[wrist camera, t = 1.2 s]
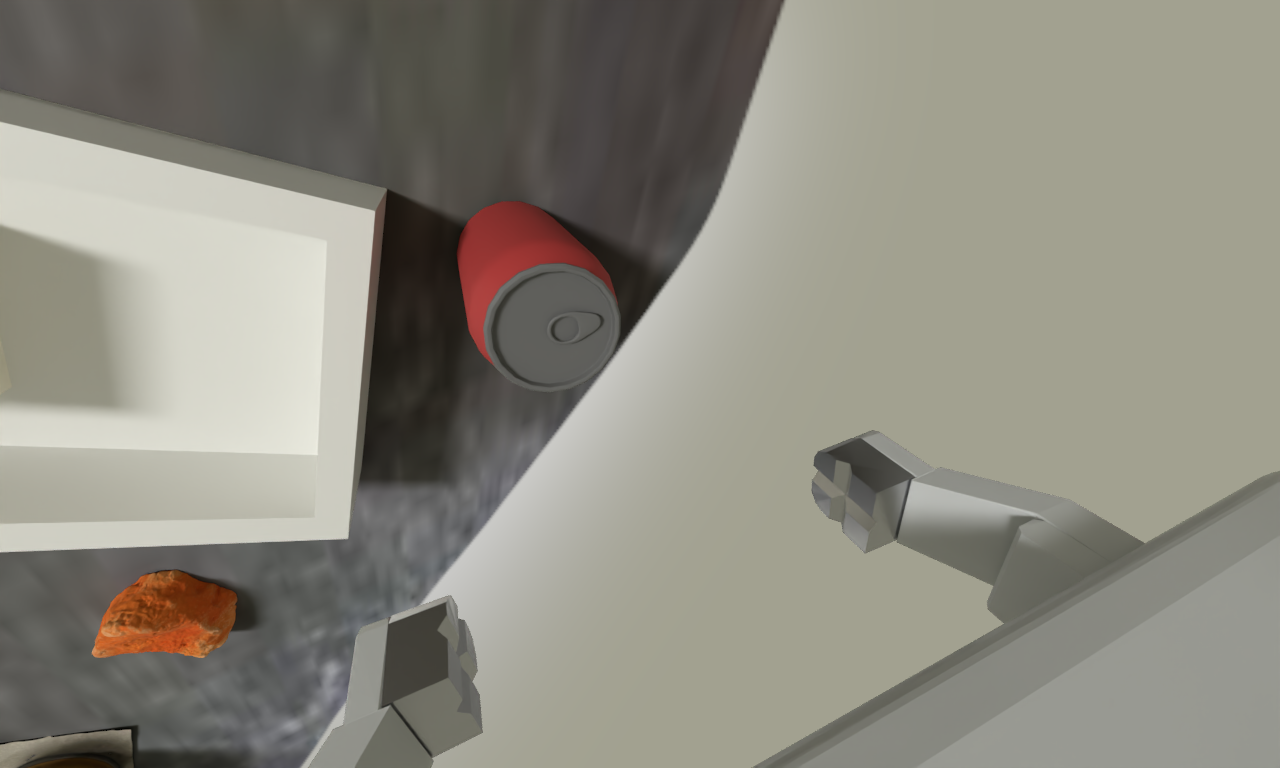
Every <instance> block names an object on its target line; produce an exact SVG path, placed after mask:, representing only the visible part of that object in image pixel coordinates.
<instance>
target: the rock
mask: <svg viewBox="0 0 1280 768" xmlns="http://www.w3.org/2000/svg"><path fill="white" fill-rule="evenodd" d="M236 602H237V594H236V593H235V592H233V591H231V590H229V589H226V588H223V587H219V586H218V585H216V584H214V583H206V582H202V581H199V580H197V579H195V578H192V577H191V576H189V575H188V574H187V573H183V572H180V571H179V570H172V571H170V570H169V571H160V572H157V573H152V574H146V575H143V576H141V577H140V578H139V580H138V581H137V582H136V583H134V584H132V585H131V586H129V587H127V588H126V589H125V590H124V591H123V592H122V593H120V594H119V595H117V596H116V597H115V599H114V600H113V601H112V602H111V604H110V606H109V608H108V610H107V611H106V613H105V615H104V616H103V619H102V622H101V626H100V629H99V633H98V636H97V638H96V640H95V646H94V648H93V651H92V654H93V656H95V657H98V658H104V657H109V656H114V655H118V654H124V653H139V652H141V653H142V652H146V651H147V652H149V651H151V652H160V651H166V652H169V653H175V652H176V653H181V654H184V655H185V656H187V655H188V656H189V655H191V656H194V657H199V658H204V657H206V656H207V655H208V654H209V652H210V651H213V650H214V649H215V648H219V647H220V646H222V645H223V644H224V643H225V642H226V640H227V638H228V634H229V632H230V631H231V629H232V627H233V624H234V622H235V615H236V612H235V610H236V607H237V606H236V605H235V603H236Z"/></svg>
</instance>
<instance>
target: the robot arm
mask: <svg viewBox="0 0 1280 768" xmlns="http://www.w3.org/2000/svg"><path fill="white" fill-rule="evenodd" d="M814 466H815V467H816V469H817V470H818V472H817V473H816V475H815V477H814V478H813V480H812V494H813V496H814V499H815V502H816V504H817V505H818V507H819V508H820V509H821V511H822V512H823V513H824V514H825V515H826V516H827V517H828V518H829V519H832V520H835V521H838V522H841V523H842V529H843V533H844V534H845V535H846V536H848V538H849V539H850V540H851V541H853V542H854V543H855V544H856V545H857V546H858V547H859V548H860V549H861V550H862V551H863V552H864V553H867V552H870V551H872V550H875V549H877V548H879V547H882V546H884V545H886V544H888V543H891V542H893V541H895V540H897V543H899V544H902V545H904V546H906V547H908V548H911V549H913V550H915V551H917V552H919V553H922V554H924V555H926V556H928V557H931V558H933V559H935V560H937V561H939V562H942V563H944V564H946V565H948V566H951V567H953V568H955V569H957V570H960V571H962V572H964V573H966V574H968V575H971V576H973V577H975V578H977V579H980V580H982V581H984V582H986V583H988V584H991V585H993V586H994V587H993V589H992V591H991V594H990V596H989V598H988V601H987V607H988V610H989V611H990V612H992V613H993V614H994V615H995V616H996V617H997V618H998V619H999V620H1001V621H1002V622H1003V623H1004V624H1003V625H1001V626H999V627H998V628H996V629H994V630H992V631H991V632H989V633H987V634H985V635H984V636H982V637H980V638H978V639H977V640H975V641H973V642H971V643H970V644H968V645H966V646H964V647H963V648H961V649H959V650H957V651H956V652H954V653H952V654H951V655H949V656H947V657H945V658H943V659H942V660H940V661H938V662H936V663H934V664H933V665H931V666H929V667H927V668H926V669H924V670H922V671H920V672H919V673H917V674H915V675H913V676H912V677H910V678H908V679H906V680H905V681H903V682H901V683H899V684H898V685H896V686H894V687H892V688H891V689H889V690H887V691H885V692H884V693H882V694H880V695H878V696H877V697H875V698H873V699H871V700H870V701H868V702H866V703H864V704H863V705H861V706H859V707H857V708H856V709H854V710H852V711H850V712H849V713H847V714H845V715H843V716H842V717H840V718H838V719H836V720H835V721H833V722H831V723H829V724H828V725H826V726H824V727H822V728H821V729H819V730H817V731H815V732H814V733H812V734H810V735H808V736H806V737H805V738H803V739H801V740H800V741H798V742H796V743H794V744H792V745H791V746H789V747H787V748H786V749H784V750H782V751H780V752H778V753H777V754H775V755H773V756H772V757H770V758H768V759H766V760H764V761H763V762H761V763H759V764H757V765H756V766H754V767H752V768H1280V471H1278V472H1273V473H1270V474H1268V475H1265V476H1263V477H1261V478H1259V479H1257V480H1255V481H1254V482H1252V483H1250V484H1248V485H1247V486H1245V487H1243V488H1242V489H1240V490H1238V491H1236V492H1234V493H1233V494H1231V495H1229V496H1227V497H1226V498H1224V499H1222V500H1220V501H1219V502H1217V503H1215V504H1213V505H1212V506H1210V507H1208V508H1206V509H1205V510H1203V511H1201V512H1199V513H1198V514H1196V515H1194V516H1193V517H1191V518H1189V519H1187V520H1185V521H1183V522H1182V523H1180V524H1178V525H1176V526H1175V527H1173V528H1171V529H1169V530H1168V531H1166V532H1164V533H1162V534H1161V535H1159V536H1157V537H1155V538H1154V539H1152V540H1150V541H1148V542H1147V543H1143V542H1142V541H1140V540H1138V539H1137V538H1135V537H1133V536H1131V535H1130V534H1128V533H1126V532H1125V531H1123V530H1121V529H1120V528H1118V527H1116V526H1114V525H1113V524H1111V523H1109V522H1107V521H1106V520H1104V519H1102V518H1101V517H1099V516H1097V515H1096V514H1094V513H1092V512H1090V511H1089V510H1087V509H1085V508H1084V507H1082V506H1080V505H1078V504H1077V503H1075V502H1073V501H1071V500H1069V499H1066V498H1062V497H1057V496H1054V495H1050V494H1046V493H1042V492H1038V491H1033V490H1029V489H1026V488H1022V487H1018V486H1014V485H1010V484H1005V483H1001V482H998V481H993V480H990V479H985V478H981V477H977V476H974V475H970V474H965V473H961V472H958V471H954V470H950V469H945V468H942V467H940V468H937V469H934V468H932V467H931V466H930V465H928V464H927V463H925V462H924V461H922V460H920V459H919V458H918V457H916V456H915V455H913V454H912V453H910V452H909V451H907V450H906V449H904V448H903V447H901V446H900V445H898V444H897V443H895V442H894V441H892V440H891V439H889V438H888V437H886V436H885V435H883V434H882V433H880V432H877V431H874V430H872V431H869V432H867V433H864V434H862V435H859V436H856V437H854V438H851V439H848V440H846V441H843V442H841V443H838V444H836V445H833V446H831V447H828V448H826V449H823V450H821V451H819V452H818V453H817V454H816V456H815V458H814ZM477 671H478V670H477V661H476V653H475V648H474V644H473V639H472V636H471V633H470V631H469V628H468V626H467V624H466V622H465V620H461V619H458V609H457V605H456V603H455V601H454V600H453V598H452V596H445V597H443V598H440V599H437V600H434V601H432V602H429V603H426V604H423V605H421V606H418V607H415V608H412V609H409V610H407V611H404V612H401V613H398V614H396V615H393V616H391V617H388V618H386V619H383V620H380V621H377V622H375V623H372V624H369V625H367V626H364V627H361V629H360V631H359V633H358V635H357V637H356V642H355V649H354V655H353V662H352V669H351V675H350V682H349V689H348V695H347V702H346V709H345V716H344V722H343V725H342V726H340V727H338V728H335V729H333V731H332V732H331V734H330V735H329V737H328V738H327V740H326V741H325V743H324V744H323V746H322V747H321V749H320V750H319V752H318V753H317V755H316V756H315V758H314V759H313V761H312V762H311V764H310V766H309V767H308V768H431V766H432V764H433V759H432V758H433V757H435V756H437V755H439V754H441V753H443V752H445V751H447V750H449V749H451V748H453V747H455V746H457V745H459V744H461V743H463V742H465V741H467V740H469V739H471V738H473V737H475V736H477V735H479V734H481V733H483V731H482V718H481V707H480V706H481V705H480V695H479V693H478V691H477V689H476V687H475V685H474V684H473V682H472V681H473V679H474V677H475V675H476V673H477Z"/></svg>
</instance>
